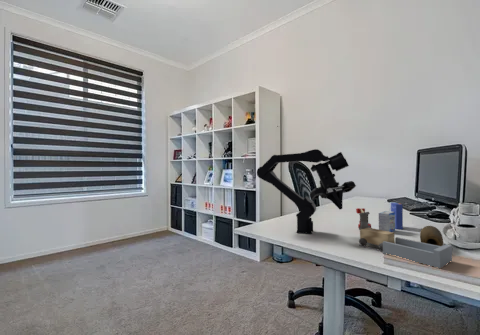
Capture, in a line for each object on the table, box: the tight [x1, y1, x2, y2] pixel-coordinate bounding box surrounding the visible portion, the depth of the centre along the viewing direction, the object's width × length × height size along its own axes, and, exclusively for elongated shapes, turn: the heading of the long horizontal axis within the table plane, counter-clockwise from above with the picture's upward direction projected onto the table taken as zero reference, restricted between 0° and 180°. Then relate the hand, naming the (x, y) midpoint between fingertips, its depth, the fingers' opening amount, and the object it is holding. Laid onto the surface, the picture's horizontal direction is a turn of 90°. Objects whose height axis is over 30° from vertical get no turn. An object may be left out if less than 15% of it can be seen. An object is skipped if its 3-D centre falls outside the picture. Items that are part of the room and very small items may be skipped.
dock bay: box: [359, 237, 453, 269], centre depth 85 cm, size 25×10×5 cm, turn 34°
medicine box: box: [378, 210, 396, 232], centre depth 114 cm, size 8×4×9 cm, turn 131°
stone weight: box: [419, 225, 444, 246], centre depth 92 cm, size 15×7×7 cm, turn 149°
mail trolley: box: [358, 211, 395, 252], centre depth 91 cm, size 10×6×12 cm, turn 34°
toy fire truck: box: [355, 207, 372, 231], centre depth 115 cm, size 3×14×10 cm, turn 168°
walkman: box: [388, 201, 404, 230], centre depth 122 cm, size 8×3×12 cm, turn 170°
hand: (341, 209), depth 102 cm, fingers closed
